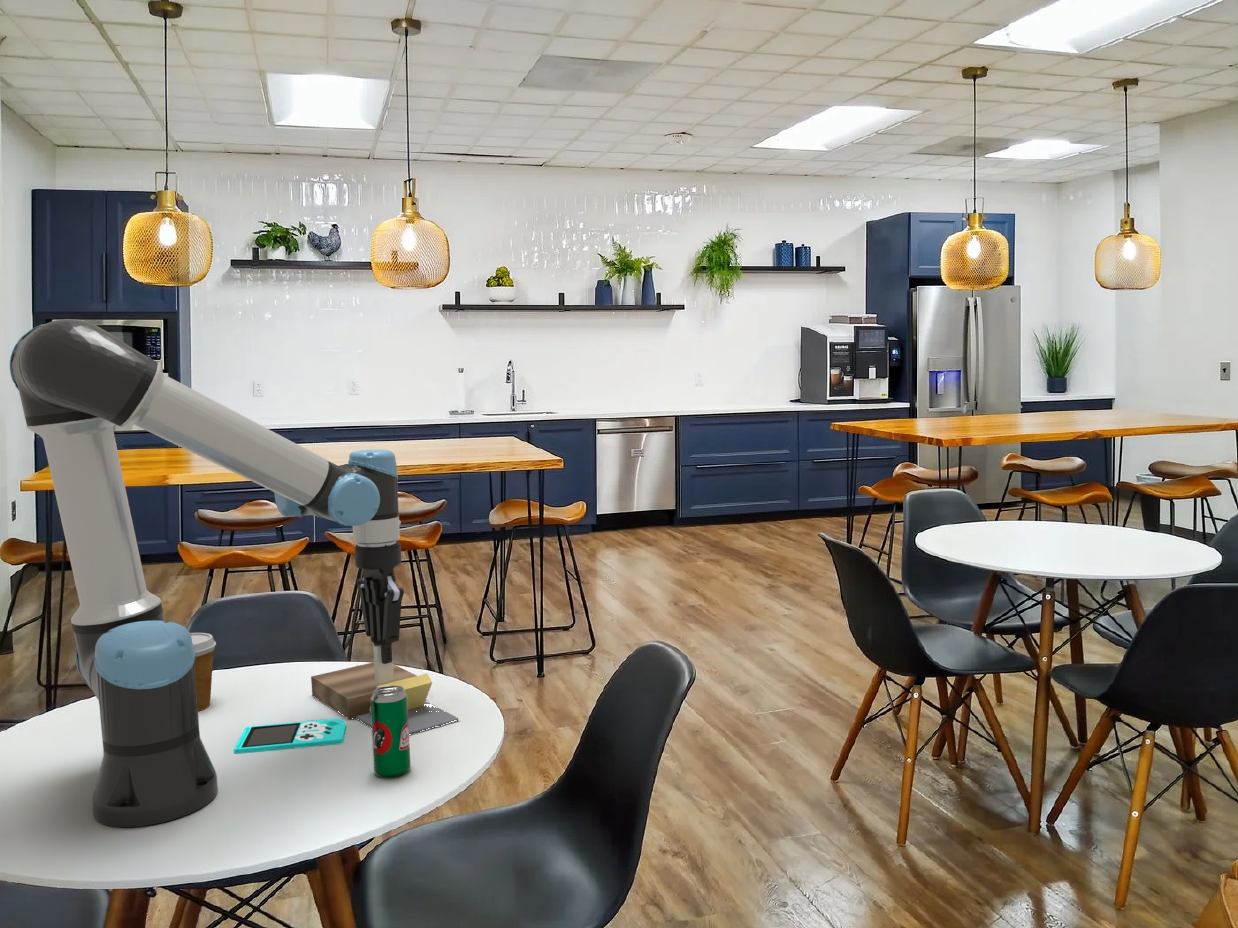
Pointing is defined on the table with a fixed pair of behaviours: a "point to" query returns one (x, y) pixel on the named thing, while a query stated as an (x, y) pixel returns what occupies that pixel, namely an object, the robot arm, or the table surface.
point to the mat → (419, 718)
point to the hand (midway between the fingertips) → (384, 680)
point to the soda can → (390, 731)
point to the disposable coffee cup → (203, 667)
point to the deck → (351, 688)
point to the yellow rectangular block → (414, 689)
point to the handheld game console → (291, 735)
